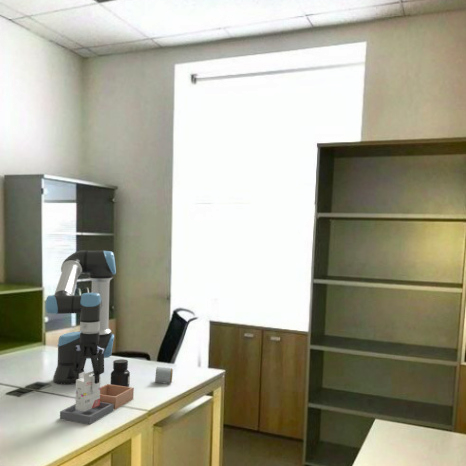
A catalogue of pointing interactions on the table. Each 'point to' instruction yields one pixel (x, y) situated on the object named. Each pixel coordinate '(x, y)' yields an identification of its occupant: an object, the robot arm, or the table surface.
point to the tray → (86, 413)
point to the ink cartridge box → (86, 393)
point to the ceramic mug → (163, 375)
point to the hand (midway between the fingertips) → (88, 390)
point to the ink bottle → (120, 373)
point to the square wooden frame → (116, 395)
